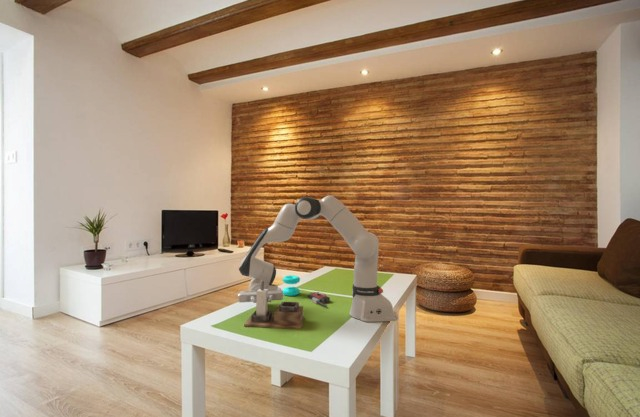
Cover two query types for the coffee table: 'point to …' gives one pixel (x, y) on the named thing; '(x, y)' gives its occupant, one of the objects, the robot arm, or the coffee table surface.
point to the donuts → (291, 290)
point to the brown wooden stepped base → (279, 317)
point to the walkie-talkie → (319, 298)
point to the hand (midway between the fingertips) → (262, 300)
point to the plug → (262, 301)
